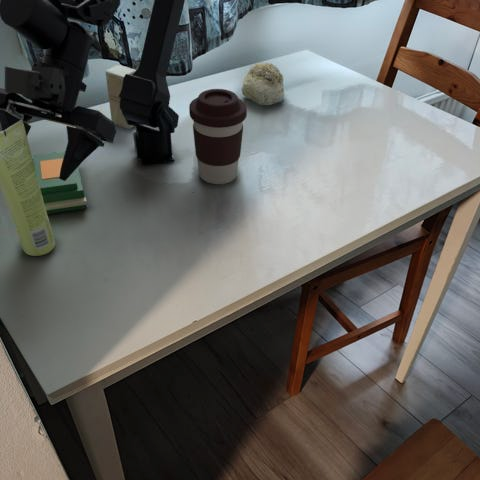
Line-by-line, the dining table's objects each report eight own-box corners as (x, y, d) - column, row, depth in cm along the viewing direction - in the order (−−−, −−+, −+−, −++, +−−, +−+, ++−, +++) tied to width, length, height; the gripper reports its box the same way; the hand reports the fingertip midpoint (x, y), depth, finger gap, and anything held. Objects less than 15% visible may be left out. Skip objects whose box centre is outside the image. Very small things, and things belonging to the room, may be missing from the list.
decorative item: (234, 68, 124) (273, 49, 122) (248, 103, 130) (286, 86, 127) (236, 82, 115) (278, 63, 113) (251, 119, 120) (292, 101, 118)
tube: (22, 238, 85) (-18, 122, 70) (54, 233, 86) (22, 118, 72) (24, 260, 81) (-17, 142, 67) (57, 254, 82) (24, 137, 68)
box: (111, 123, 112) (103, 70, 104) (124, 115, 115) (117, 63, 107) (130, 130, 110) (124, 76, 102) (143, 122, 113) (137, 69, 105)
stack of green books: (79, 167, 100) (74, 144, 96) (88, 211, 90) (83, 187, 87) (33, 173, 98) (26, 150, 94) (38, 219, 88) (31, 195, 85)
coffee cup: (184, 166, 101) (180, 88, 90) (231, 157, 104) (233, 81, 93) (202, 193, 95) (200, 113, 84) (252, 183, 98) (256, 104, 87)
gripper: (-31, 25, 69) (-60, 140, 70) (90, 49, 65) (57, 171, 66) (23, 65, 80) (-3, 164, 81) (130, 88, 76) (101, 193, 77)
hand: (35, 172), depth 76 cm, fingers open, 9 cm apart
